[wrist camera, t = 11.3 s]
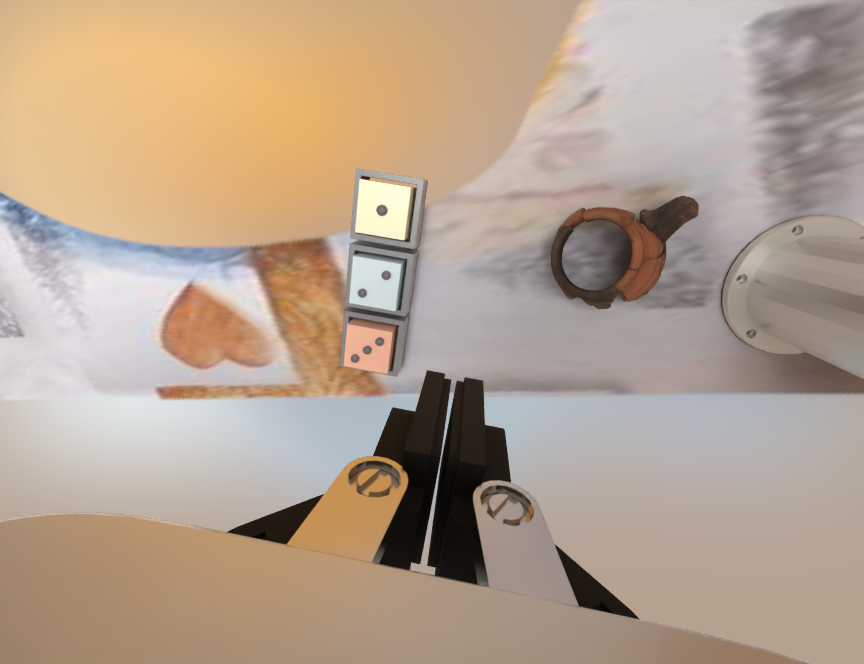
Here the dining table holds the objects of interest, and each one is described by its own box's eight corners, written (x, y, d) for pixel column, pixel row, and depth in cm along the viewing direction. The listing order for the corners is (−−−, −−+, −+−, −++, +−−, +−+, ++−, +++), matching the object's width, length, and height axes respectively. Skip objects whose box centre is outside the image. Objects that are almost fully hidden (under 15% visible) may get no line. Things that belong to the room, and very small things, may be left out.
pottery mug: (607, 322, 40) (585, 333, 34) (550, 252, 43) (519, 249, 36) (728, 238, 34) (730, 231, 27) (652, 160, 36) (637, 136, 29)
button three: (400, 320, 41) (392, 333, 37) (395, 358, 43) (386, 375, 39) (358, 312, 42) (346, 325, 37) (355, 351, 43) (342, 367, 39)
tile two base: (418, 250, 39) (413, 254, 36) (410, 308, 41) (405, 316, 38) (358, 240, 40) (349, 243, 37) (353, 298, 42) (344, 305, 39)
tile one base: (427, 180, 37) (423, 179, 34) (418, 245, 39) (414, 249, 36) (365, 170, 37) (355, 168, 35) (359, 235, 39) (350, 238, 37)
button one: (417, 188, 37) (410, 187, 33) (411, 236, 38) (403, 240, 34) (371, 180, 37) (358, 178, 33) (366, 228, 39) (354, 232, 35)
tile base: (409, 312, 41) (404, 321, 39) (402, 365, 43) (397, 376, 41) (353, 302, 42) (344, 310, 39) (348, 355, 44) (339, 366, 41)
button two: (408, 257, 39) (400, 264, 35) (402, 300, 41) (394, 312, 37) (364, 250, 39) (352, 256, 35) (360, 293, 41) (348, 303, 37)
